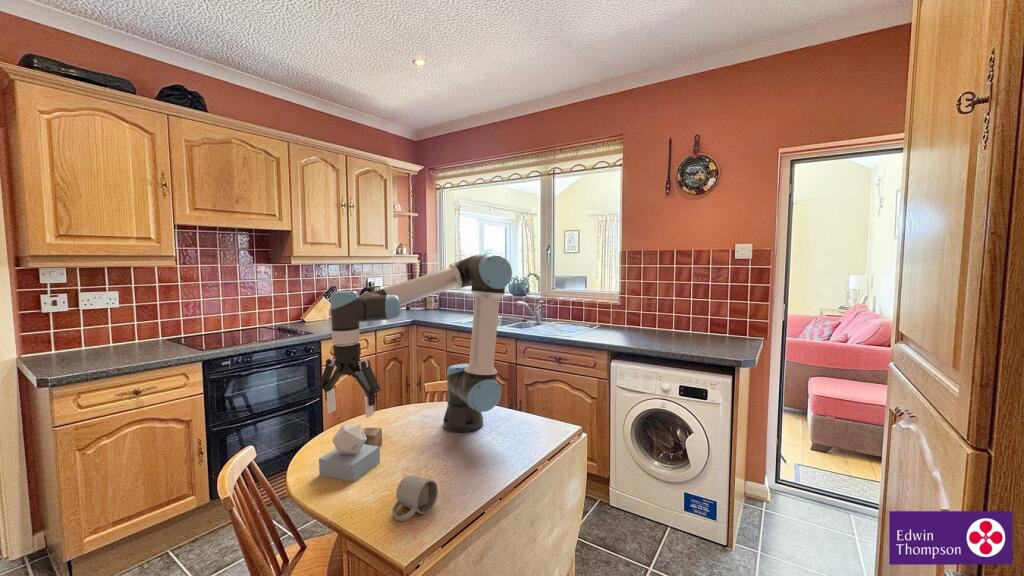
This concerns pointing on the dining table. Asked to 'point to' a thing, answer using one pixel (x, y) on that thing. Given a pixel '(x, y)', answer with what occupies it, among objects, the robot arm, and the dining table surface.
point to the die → (349, 439)
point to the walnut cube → (373, 436)
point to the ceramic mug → (415, 496)
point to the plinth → (349, 463)
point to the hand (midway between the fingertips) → (350, 413)
